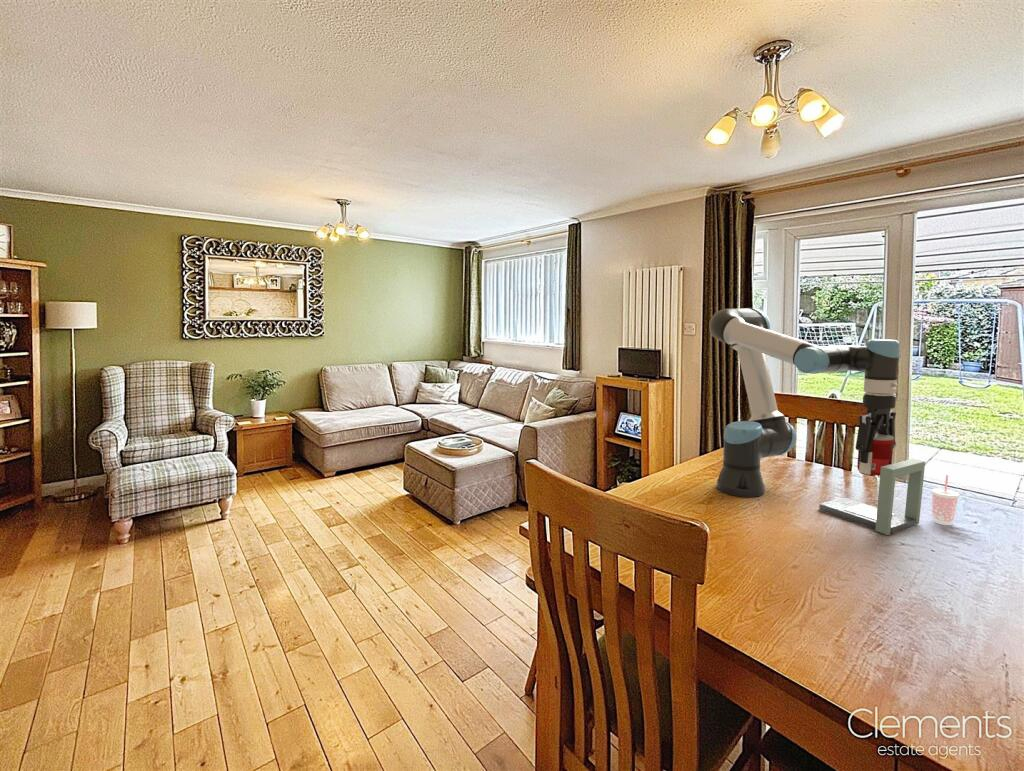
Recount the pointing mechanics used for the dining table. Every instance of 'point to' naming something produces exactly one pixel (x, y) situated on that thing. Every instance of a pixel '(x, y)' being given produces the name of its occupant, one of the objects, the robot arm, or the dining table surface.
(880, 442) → the canned food
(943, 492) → the beverage cup
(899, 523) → the plate
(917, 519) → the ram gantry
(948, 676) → the dining table surface
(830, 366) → the robot arm
